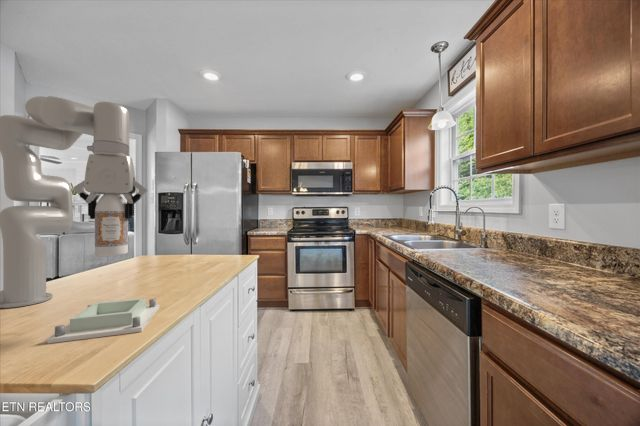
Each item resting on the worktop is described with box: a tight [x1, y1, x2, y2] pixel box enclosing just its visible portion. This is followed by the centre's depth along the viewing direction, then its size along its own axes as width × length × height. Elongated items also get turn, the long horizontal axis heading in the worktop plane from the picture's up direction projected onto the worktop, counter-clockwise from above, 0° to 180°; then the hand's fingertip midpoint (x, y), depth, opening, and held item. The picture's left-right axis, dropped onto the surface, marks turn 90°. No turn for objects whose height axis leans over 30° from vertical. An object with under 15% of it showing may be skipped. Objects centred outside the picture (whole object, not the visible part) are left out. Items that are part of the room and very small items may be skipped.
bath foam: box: [94, 193, 129, 258], centre depth 71 cm, size 7×7×20 cm
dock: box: [46, 297, 160, 344], centre depth 71 cm, size 18×18×4 cm
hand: (111, 218), depth 71 cm, fingers closed on bath foam, 7 cm apart
